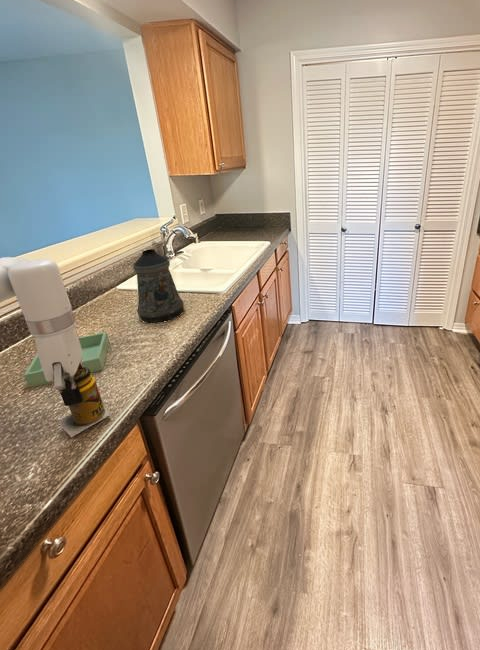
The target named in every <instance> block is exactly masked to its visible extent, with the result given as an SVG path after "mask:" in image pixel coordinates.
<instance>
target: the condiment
mask: <svg viewBox="0 0 480 650" xmlns="http://www.w3.org/2000/svg"><path fill="white" fill-rule="evenodd" d="M67 374H69V373H67V372H66V373H65V374H64V375H67ZM74 378H75V383H76V386H79V389H80V392H81V395H82V398H83V401H82V402H81V403H77V404H73V405H69V406H68V408H69V411H70V413H71V414H69V415H68V416H66V417H64V418H62V419H61V420H59V421H57V423H58V424H59V425H60V426H61V428H63V431H65V433H67V434H68V435H69V437H70V438H73V437H75V436H77V435H79V434H80V433H81V432H84V431H85V430H86V429H88V428H90V427H92V426H94V425H96V424H97V423H99V422H101V421H102V420H104V419H106V418H107V417H109V416H111V415H112V414H113V412H112V411H111V410H109V409H108V408H107V407H106V406H105V405H104V403H103V399H102V396H101V393H100V390H99V387H98V384H97V381H96V378H95V377H94V376H93V375H92V373H91V372H90V370H89V369H88V368H87V367H79V368H78V369H77V371H76V373H75V374H74ZM64 381H65V383H66V382H69V383H70V378H66V379H64Z"/></svg>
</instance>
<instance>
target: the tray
mask: <svg viewBox="0 0 480 650" xmlns="http://www.w3.org/2000/svg"><path fill="white" fill-rule="evenodd" d="M78 339H79V341H80V345H81V348H82V357H81V360H82V362H83V367H87V368H88V369H89V370H90V372H91V374H92V373H96V372H100V371H103V370H104V366H105V363H106V359H107V355H108V350H109V347H108V346H110V343H109V342H110V338H109V336H108V333H107V331H103V332H98V333H94V334H89V335H83V336H78ZM65 373H66V372H65ZM65 373H63V374H65ZM23 377H24V378H23V379H24V380H25V382H26V384H27V387H28V388H34V387H38V386H42V385H46V384H50V383H54V379H53V381H51V382H48V381H47V380H46V378H45V375H44V372H43V369H42V366H41V363H40V360H39V357H38V353H36V354H35V355H34V357H33V359H32V361H31V362H30V363H29V366H28V367H27V369H26V371H25V372H24V374H23Z"/></svg>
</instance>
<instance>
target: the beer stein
mask: <svg viewBox="0 0 480 650" xmlns="http://www.w3.org/2000/svg"><path fill="white" fill-rule="evenodd" d="M170 264H171V261H170V260H169V259H168V258H166V257H165V256H163V255H161V254H159V253H158V252H157V251H156V250H155V249H152V248H151V249H149V248H148V249H146V250H143V251H142V252H141V255H140V256H139V258H138V259H137V260H136V261H135V262H134V264H133V267H132V268H133V270H134V272H135V274H136V282H137V283H136V284H137V297H138V300H137V301H138V303H137V310H136V312H137V315H138V317H139V319H140V321H141V320H142V321H141V322H143V321H144V322H147V323H146V324H150V323H155V324H159V323H158V322H163V323H165V322H164V321H167V322H169V321H168V320H171V321H173V320H174V319H173V318H175V317H177V316H179V315H180V314H181V313H182V312H183V313H184V305H185V303H184V300H183V299H182V297H181V296H180V294H179V292H178V290H177V286H176V284H175V282H174V279H173V275H172V274H171V271H170ZM183 313H182V314H183ZM182 314H181V315H182ZM181 315H180V316H181ZM180 316H179V317H180ZM177 318H178V317H177ZM172 319H173V320H172ZM175 319H176V318H175ZM144 322H143V323H144Z"/></svg>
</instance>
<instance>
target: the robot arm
mask: <svg viewBox="0 0 480 650" xmlns="http://www.w3.org/2000/svg"><path fill="white" fill-rule="evenodd" d="M15 297H16V300H17V302H18V306H19V308H20V310H21V312H22V316H23V318H24V320H25V323H26V325H27V328H28V330H29V333H30V335H31V336H32V337H34V342H35V348H36V352H37V353H38V357H39V360H40V363H41V366H42V369H43V372H44V375H45V378H46V380H47V381H48V382H51V381H53V379H54V382H53V386H54V387H53V388H54V389H56V390H57V391H58V392H59V394H60V396H61V399H62V402H63V405H64V406H65V407H69V405H73V404H77V403H81V402H82V401H83V398H82V395H81V392H80V389H79V386H76V383H75V378H74V374H75V373H76V371H77V369H78V368H79V367H83V362H82V360H81V357H82V348H81V345H80V341H79V339H78V337H79V336H78V334H77V331H76V328H75V326H76V325H77V319H76V317H75V314H74V311H73V308H72V304H71V302H70V299H69V295H68V292H67V289H66V287H65V283H64V280H63V277H62V273H61V271H60V268H59V265H58V264H57V263H56V261H54V260H52V259H50V258H35V259H24V258H19V257H11V256H6V257H5V256H4V257H0V304H1V303H3V302H5V301H7V300H10V299H11V298H15ZM37 353H36V354H37ZM65 372H67V373H69V374H67V375H64V374H63V373H65ZM66 378H70V383H69V382H66V383H65V381H64V379H66ZM51 383H52V382H51Z"/></svg>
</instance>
